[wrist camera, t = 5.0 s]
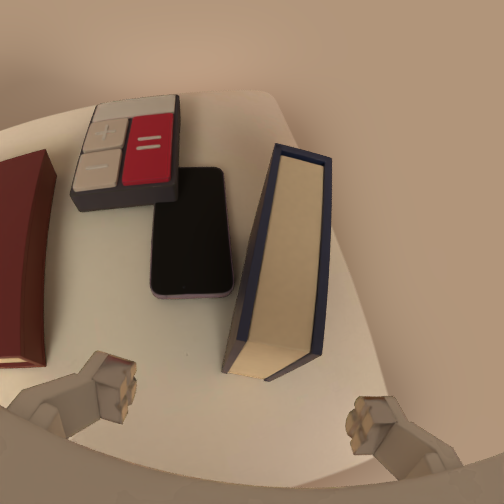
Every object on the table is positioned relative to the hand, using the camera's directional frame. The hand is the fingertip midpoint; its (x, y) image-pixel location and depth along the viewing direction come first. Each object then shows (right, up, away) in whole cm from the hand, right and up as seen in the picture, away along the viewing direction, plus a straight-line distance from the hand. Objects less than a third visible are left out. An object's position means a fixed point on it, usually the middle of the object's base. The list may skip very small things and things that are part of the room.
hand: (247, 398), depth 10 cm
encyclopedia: (-28, +4, +14) cm, 31 cm away
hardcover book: (+1, +1, +17) cm, 17 cm away
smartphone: (-6, +7, +20) cm, 22 cm away
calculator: (-14, +16, +23) cm, 31 cm away
